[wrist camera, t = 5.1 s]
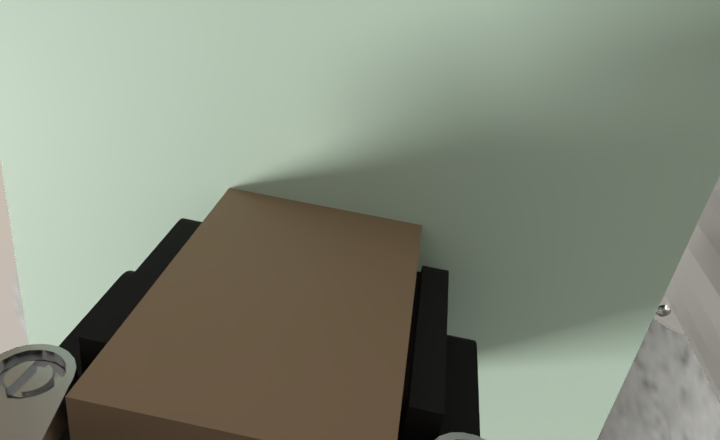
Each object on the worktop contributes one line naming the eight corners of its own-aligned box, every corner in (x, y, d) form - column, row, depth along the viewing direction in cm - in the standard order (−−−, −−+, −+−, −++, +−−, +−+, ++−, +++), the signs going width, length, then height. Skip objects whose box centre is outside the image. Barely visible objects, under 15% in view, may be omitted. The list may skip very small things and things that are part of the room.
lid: (768, 2, 11) (1188, 150, 4) (539, 520, 17) (583, 863, 11) (-5, -128, 11) (-542, -151, 5) (63, 415, 18) (-140, 682, 12)
